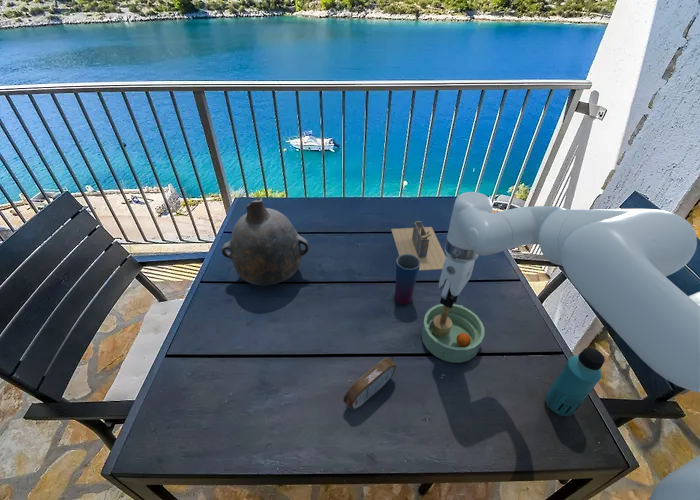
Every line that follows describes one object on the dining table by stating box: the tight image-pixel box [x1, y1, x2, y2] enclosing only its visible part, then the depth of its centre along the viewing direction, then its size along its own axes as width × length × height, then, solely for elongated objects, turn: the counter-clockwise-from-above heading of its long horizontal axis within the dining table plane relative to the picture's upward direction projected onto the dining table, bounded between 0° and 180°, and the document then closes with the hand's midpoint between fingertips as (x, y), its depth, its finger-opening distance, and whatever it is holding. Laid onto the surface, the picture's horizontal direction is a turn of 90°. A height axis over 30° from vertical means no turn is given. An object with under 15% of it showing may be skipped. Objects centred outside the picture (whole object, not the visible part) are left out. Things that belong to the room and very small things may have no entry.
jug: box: [221, 197, 310, 286], centre depth 107 cm, size 24×21×30 cm
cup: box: [394, 254, 420, 305], centre depth 104 cm, size 7×7×15 cm
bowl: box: [420, 303, 485, 364], centre depth 94 cm, size 16×16×6 cm
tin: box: [343, 357, 397, 411], centre depth 81 cm, size 15×3×8 cm, turn 131°
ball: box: [457, 333, 471, 347], centre depth 93 cm, size 4×4×4 cm
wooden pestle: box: [432, 290, 452, 336], centre depth 91 cm, size 5×5×16 cm
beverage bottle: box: [545, 347, 606, 417], centre depth 75 cm, size 6×7×20 cm
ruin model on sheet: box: [390, 220, 447, 271], centre depth 125 cm, size 25×16×10 cm, turn 5°
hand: (448, 302), depth 89 cm, fingers closed on wooden pestle
